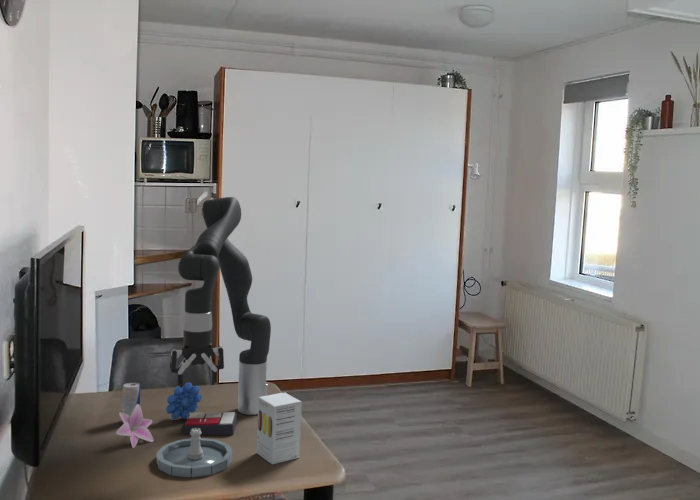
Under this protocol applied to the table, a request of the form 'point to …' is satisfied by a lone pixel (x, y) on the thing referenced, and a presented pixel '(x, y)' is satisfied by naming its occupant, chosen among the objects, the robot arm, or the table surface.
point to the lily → (135, 426)
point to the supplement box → (278, 427)
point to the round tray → (178, 464)
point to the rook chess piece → (195, 445)
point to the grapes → (183, 401)
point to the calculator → (212, 423)
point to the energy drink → (130, 397)
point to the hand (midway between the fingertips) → (196, 385)
